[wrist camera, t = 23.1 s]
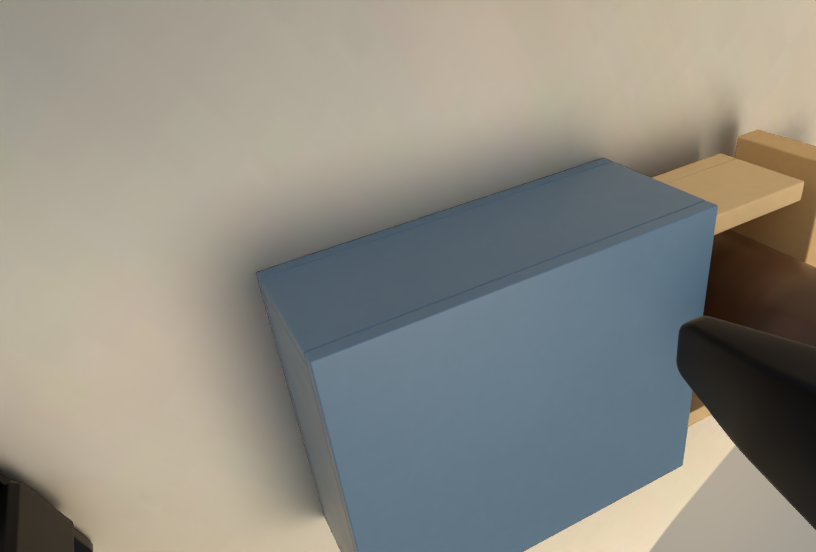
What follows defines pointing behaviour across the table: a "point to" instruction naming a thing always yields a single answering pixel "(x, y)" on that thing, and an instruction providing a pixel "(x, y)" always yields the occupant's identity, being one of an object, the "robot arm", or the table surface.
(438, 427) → the cabinet
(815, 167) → the drawer
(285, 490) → the table surface
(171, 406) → the table surface
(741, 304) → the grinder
